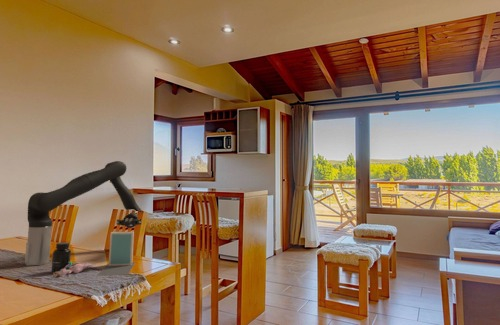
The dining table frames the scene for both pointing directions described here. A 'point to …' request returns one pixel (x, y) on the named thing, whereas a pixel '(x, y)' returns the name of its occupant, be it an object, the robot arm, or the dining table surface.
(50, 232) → the robot arm
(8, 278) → the dining table surface
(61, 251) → the supplement bottle
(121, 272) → the mat
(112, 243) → the tile
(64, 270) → the rabbit figure
